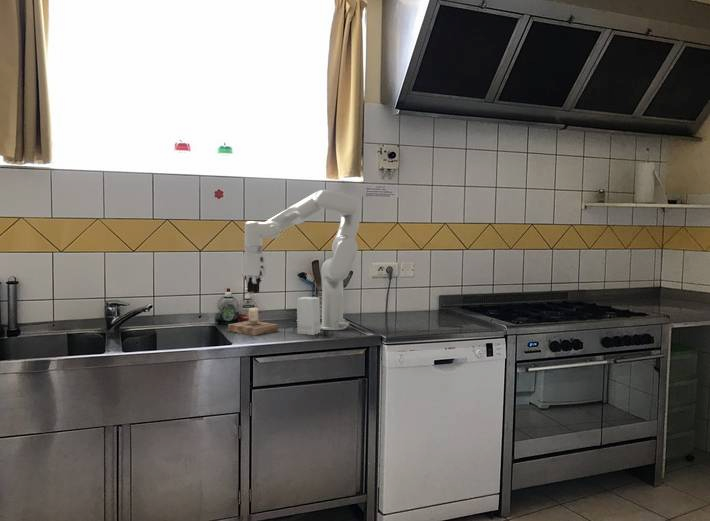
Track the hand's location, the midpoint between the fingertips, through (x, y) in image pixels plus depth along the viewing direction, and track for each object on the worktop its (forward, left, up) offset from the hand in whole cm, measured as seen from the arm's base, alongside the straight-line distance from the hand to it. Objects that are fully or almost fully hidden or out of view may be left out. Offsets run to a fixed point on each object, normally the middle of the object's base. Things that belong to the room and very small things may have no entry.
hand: (253, 291), depth 259 cm
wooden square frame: (0, 0, -17) cm, 17 cm away
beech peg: (0, 0, -17) cm, 17 cm away
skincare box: (-22, -11, -17) cm, 30 cm away
